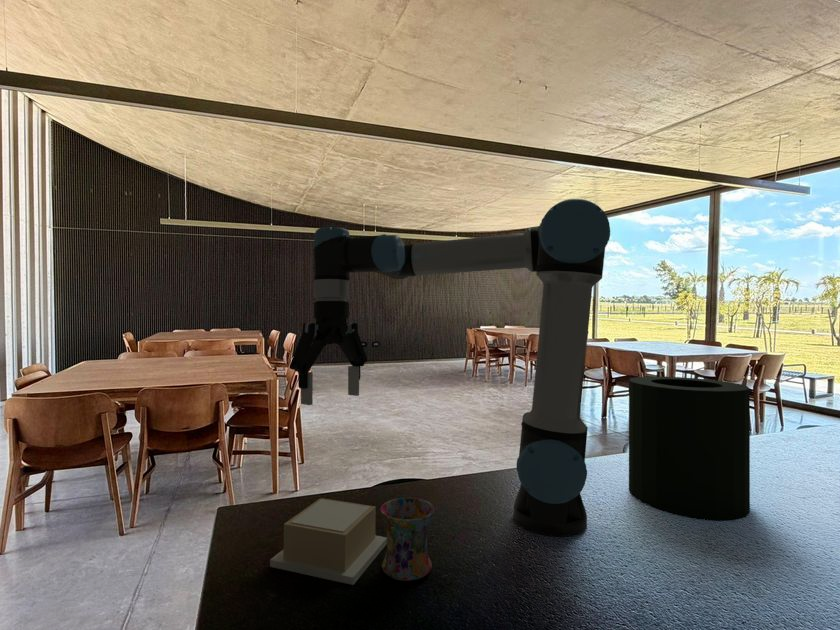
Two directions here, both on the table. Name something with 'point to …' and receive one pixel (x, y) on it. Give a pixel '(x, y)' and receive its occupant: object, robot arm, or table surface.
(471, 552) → the table surface
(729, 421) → the flower pot
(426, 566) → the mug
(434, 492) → the table surface
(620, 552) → the table surface
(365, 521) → the cream stepped pedestal
